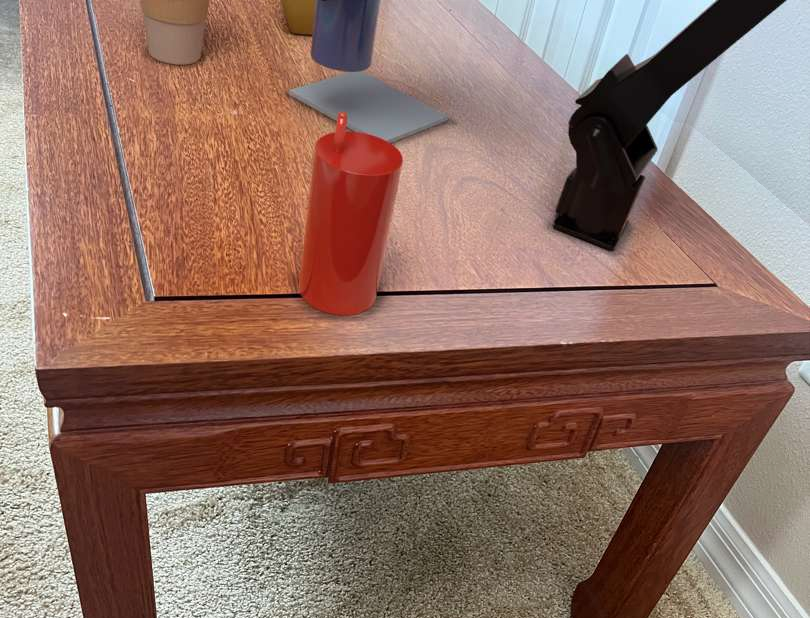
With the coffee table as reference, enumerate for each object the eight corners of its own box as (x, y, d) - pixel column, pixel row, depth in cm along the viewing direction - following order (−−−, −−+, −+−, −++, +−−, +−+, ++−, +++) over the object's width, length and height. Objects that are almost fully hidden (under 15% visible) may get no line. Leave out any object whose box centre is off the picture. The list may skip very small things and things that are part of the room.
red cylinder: (366, 268, 70) (398, 96, 60) (384, 314, 66) (420, 137, 56) (292, 267, 68) (312, 90, 58) (305, 316, 64) (328, 133, 54)
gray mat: (447, 120, 95) (448, 115, 95) (382, 146, 87) (382, 141, 87) (358, 74, 101) (358, 69, 100) (288, 94, 93) (289, 89, 92)
